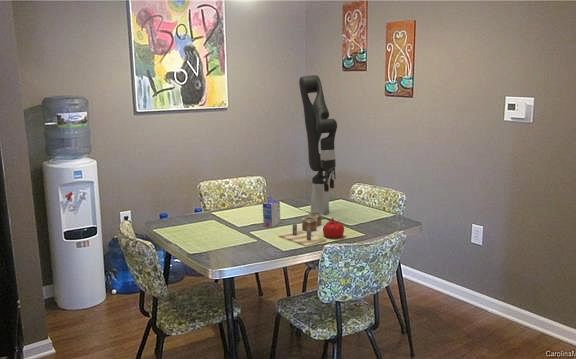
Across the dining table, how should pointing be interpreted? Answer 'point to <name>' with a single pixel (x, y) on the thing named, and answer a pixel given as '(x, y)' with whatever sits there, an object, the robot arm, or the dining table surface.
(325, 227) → the pomegranate
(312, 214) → the sleeve
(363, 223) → the dining table surface
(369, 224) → the dining table surface
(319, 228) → the mat
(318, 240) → the pin board
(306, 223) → the sleeve
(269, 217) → the ink cartridge box
